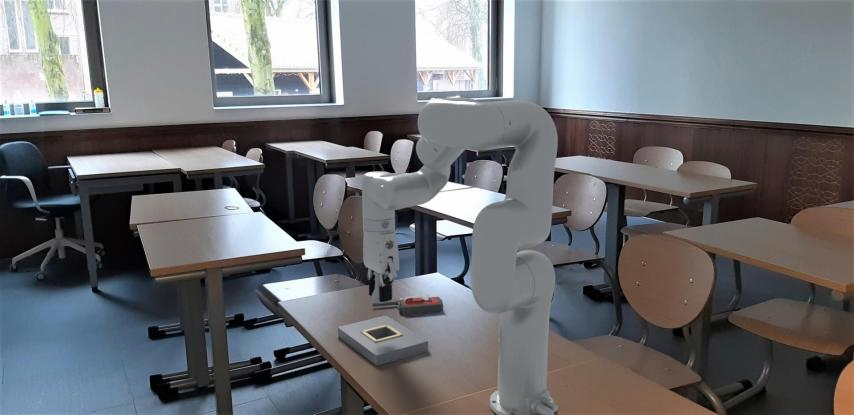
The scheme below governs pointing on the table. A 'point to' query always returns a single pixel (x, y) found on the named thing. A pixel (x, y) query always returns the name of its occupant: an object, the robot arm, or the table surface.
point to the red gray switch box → (416, 305)
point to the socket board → (382, 340)
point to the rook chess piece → (377, 289)
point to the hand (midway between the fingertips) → (380, 297)
